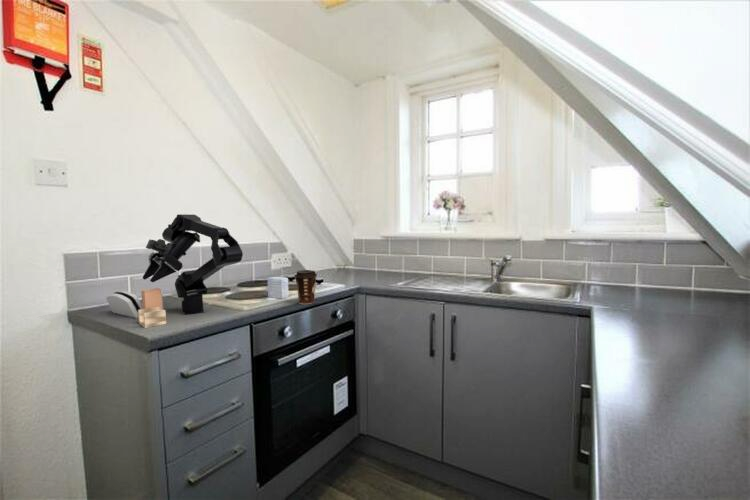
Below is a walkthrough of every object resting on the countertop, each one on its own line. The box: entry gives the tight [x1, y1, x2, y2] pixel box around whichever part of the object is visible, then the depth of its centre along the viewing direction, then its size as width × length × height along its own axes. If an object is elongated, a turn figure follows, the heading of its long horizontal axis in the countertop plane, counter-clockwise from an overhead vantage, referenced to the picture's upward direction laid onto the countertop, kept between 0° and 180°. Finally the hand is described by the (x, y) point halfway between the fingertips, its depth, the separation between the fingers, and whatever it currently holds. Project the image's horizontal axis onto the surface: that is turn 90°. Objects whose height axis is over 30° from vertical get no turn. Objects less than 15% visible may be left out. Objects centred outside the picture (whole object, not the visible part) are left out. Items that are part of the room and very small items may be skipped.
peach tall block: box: [140, 287, 164, 310], centre depth 125 cm, size 5×4×10 cm
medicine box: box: [267, 276, 289, 300], centre depth 156 cm, size 8×4×9 cm, turn 65°
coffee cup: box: [294, 269, 318, 305], centre depth 145 cm, size 9×8×13 cm
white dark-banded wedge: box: [105, 290, 143, 319], centre depth 130 cm, size 17×5×10 cm, turn 61°
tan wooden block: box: [138, 307, 167, 329], centre depth 118 cm, size 6×8×4 cm
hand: (147, 280), depth 123 cm, fingers open, 9 cm apart
